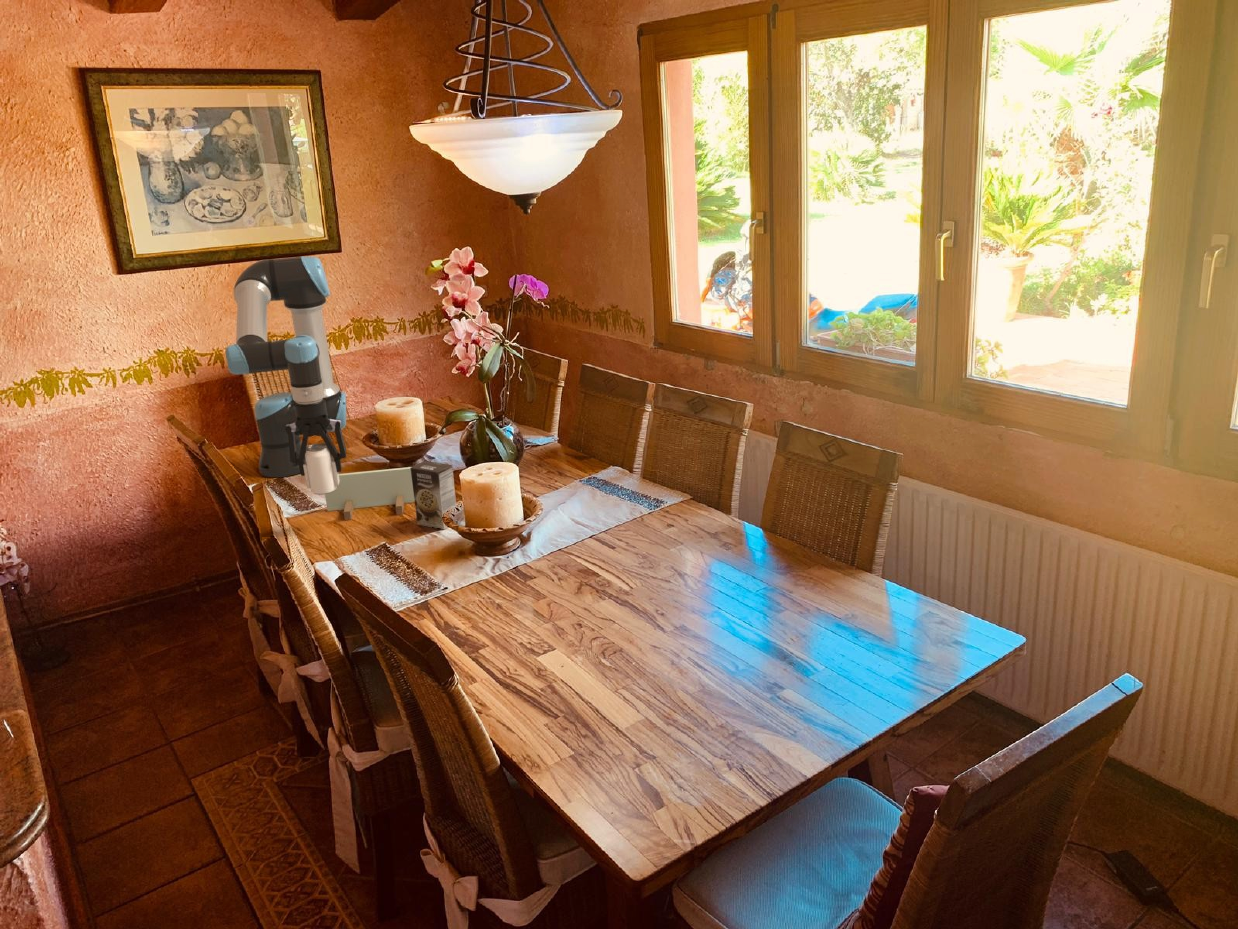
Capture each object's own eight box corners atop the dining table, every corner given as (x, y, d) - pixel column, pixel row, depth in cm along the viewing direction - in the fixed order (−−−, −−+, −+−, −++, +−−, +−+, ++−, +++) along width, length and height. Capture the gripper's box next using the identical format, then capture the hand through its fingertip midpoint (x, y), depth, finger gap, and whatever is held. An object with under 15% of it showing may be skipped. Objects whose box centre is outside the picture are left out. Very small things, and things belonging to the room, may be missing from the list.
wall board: (328, 509, 254) (322, 475, 251) (423, 499, 258) (419, 466, 254) (324, 522, 246) (318, 487, 242) (423, 512, 249) (418, 477, 246)
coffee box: (416, 525, 242) (408, 467, 236) (431, 515, 247) (424, 459, 241) (444, 530, 238) (437, 472, 232) (459, 521, 243) (452, 463, 237)
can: (321, 497, 235) (314, 453, 231) (306, 491, 239) (298, 448, 235) (342, 488, 240) (335, 445, 236) (326, 483, 244) (319, 440, 239)
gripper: (266, 407, 226) (282, 494, 234) (347, 401, 228) (360, 486, 237) (271, 398, 232) (287, 483, 241) (350, 392, 235) (362, 475, 244)
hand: (323, 484), depth 239 cm, fingers closed on can, 6 cm apart
